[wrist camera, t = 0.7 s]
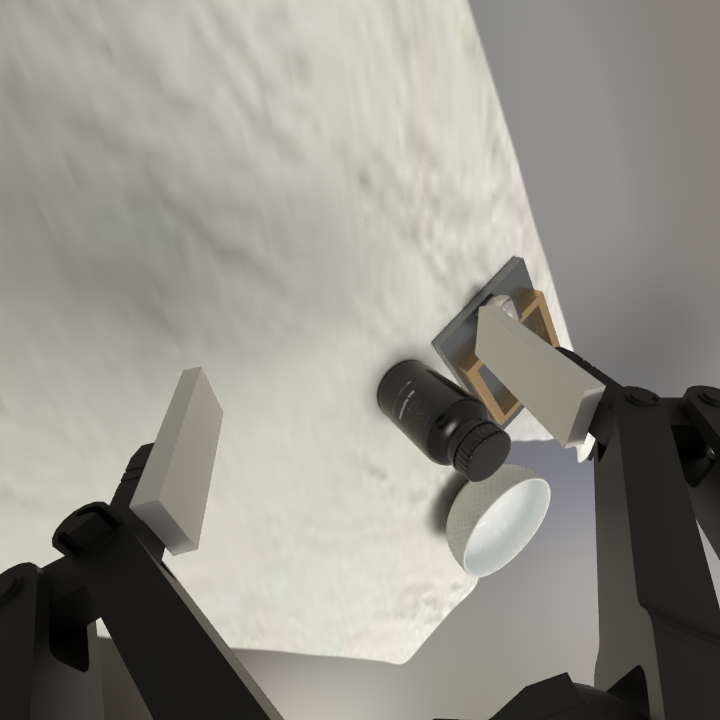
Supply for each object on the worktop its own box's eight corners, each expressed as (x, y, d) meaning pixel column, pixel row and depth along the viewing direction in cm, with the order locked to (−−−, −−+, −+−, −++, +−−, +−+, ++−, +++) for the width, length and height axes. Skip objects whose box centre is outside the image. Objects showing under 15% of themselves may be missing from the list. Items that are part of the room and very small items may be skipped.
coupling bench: (429, 340, 35) (462, 356, 31) (512, 253, 35) (554, 258, 32) (492, 431, 47) (521, 451, 43) (552, 365, 48) (586, 379, 44)
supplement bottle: (371, 373, 33) (456, 443, 23) (427, 350, 35) (525, 405, 25) (379, 426, 36) (456, 507, 26) (430, 402, 38) (518, 468, 29)
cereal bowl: (521, 478, 57) (561, 508, 51) (454, 549, 55) (487, 589, 50) (494, 428, 47) (539, 459, 41) (410, 514, 45) (445, 558, 40)
